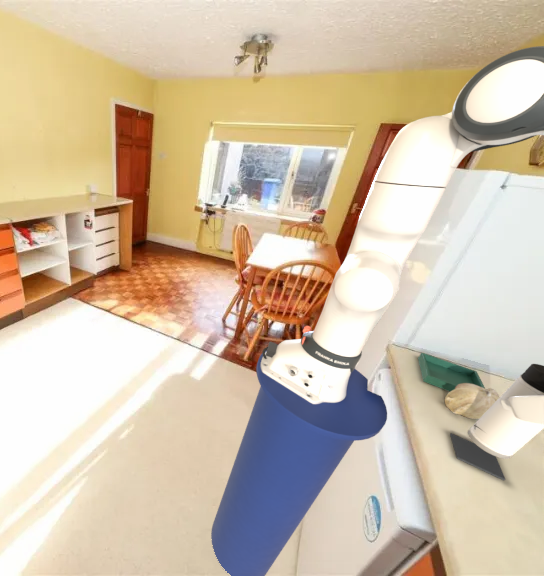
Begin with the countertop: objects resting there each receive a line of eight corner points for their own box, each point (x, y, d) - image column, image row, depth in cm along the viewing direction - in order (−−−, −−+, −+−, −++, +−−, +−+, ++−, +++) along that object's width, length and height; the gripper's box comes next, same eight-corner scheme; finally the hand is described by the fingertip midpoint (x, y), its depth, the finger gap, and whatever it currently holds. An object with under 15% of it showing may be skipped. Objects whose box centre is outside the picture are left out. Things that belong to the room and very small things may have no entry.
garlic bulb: (465, 414, 70) (502, 390, 66) (484, 437, 63) (526, 411, 59) (427, 390, 73) (460, 366, 69) (441, 409, 66) (479, 383, 62)
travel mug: (458, 434, 57) (524, 363, 48) (477, 426, 59) (543, 358, 50) (498, 463, 52) (580, 391, 43) (517, 454, 54) (599, 383, 45)
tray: (423, 381, 77) (427, 375, 76) (417, 358, 86) (421, 352, 85) (484, 405, 71) (490, 398, 70) (471, 377, 80) (476, 371, 79)
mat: (456, 458, 57) (458, 457, 57) (449, 434, 62) (450, 432, 62) (504, 480, 54) (505, 479, 53) (492, 453, 59) (493, 451, 58)
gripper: (703, 392, 40) (562, 387, 53) (584, 391, 38) (468, 386, 51) (730, 439, 38) (576, 422, 51) (605, 441, 36) (480, 422, 49)
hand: (521, 404), depth 51 cm, fingers closed on travel mug, 6 cm apart
